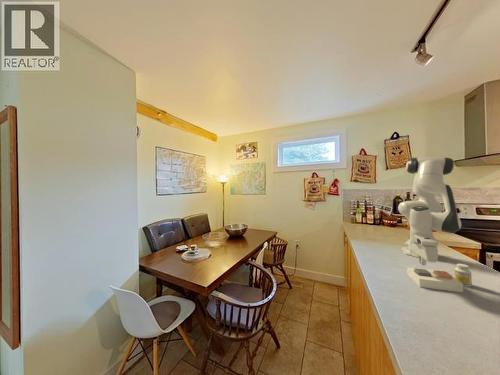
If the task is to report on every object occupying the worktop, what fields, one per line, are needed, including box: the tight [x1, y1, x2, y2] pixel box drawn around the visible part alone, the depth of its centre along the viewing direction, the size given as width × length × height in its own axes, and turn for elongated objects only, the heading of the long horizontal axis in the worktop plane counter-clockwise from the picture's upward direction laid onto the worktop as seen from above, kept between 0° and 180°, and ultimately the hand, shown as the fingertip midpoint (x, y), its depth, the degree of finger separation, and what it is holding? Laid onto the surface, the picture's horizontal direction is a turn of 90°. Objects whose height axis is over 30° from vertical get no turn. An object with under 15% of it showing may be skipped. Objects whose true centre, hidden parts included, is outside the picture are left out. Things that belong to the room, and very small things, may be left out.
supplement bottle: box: [454, 263, 473, 288], centre depth 92 cm, size 5×5×10 cm
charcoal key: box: [413, 267, 431, 277], centre depth 96 cm, size 5×5×3 cm
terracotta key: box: [432, 269, 453, 279], centre depth 94 cm, size 5×5×3 cm
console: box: [406, 267, 464, 293], centre depth 95 cm, size 14×16×4 cm
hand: (422, 264), depth 96 cm, fingers closed
